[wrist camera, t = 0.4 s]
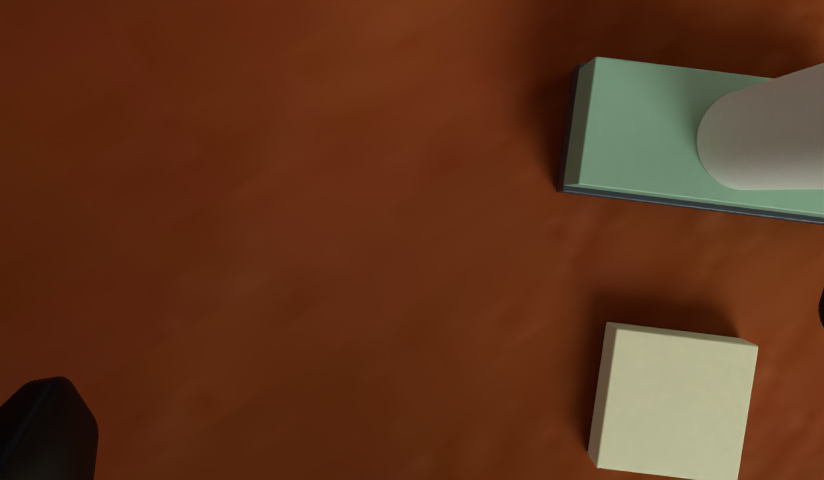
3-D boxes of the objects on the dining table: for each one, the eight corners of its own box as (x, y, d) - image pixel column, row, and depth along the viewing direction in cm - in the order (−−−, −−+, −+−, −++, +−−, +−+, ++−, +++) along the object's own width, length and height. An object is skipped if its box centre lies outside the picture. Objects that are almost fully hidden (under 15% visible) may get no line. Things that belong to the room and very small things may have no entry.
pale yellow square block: (720, 470, 23) (737, 485, 22) (586, 453, 23) (596, 467, 22) (741, 338, 23) (759, 346, 22) (605, 321, 23) (616, 328, 22)
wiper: (829, 225, 23) (1379, 267, 10) (555, 191, 23) (742, 188, 10) (849, 102, 22) (1441, -22, 10) (572, 68, 22) (788, -105, 9)
